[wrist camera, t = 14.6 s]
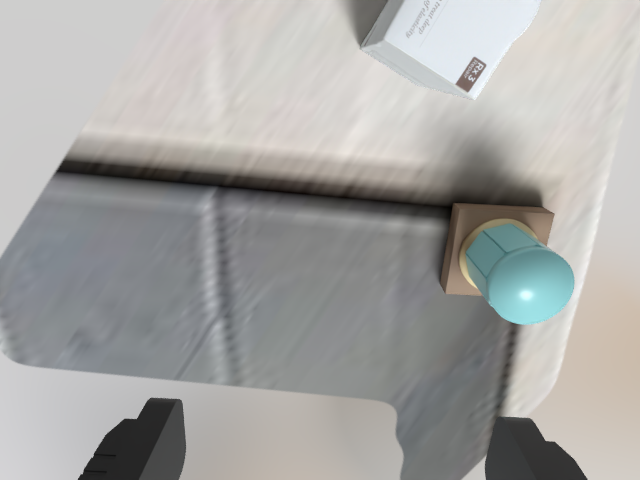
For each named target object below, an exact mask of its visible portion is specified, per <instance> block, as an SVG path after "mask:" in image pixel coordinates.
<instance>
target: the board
mask: <svg viewBox="0 0 640 480" xmlns="http://www.w3.org/2000/svg"><path fill="white" fill-rule="evenodd" d="M553 218H554V213H552V212H550V211H549V210H547V209H545V208H543V207H525V206H506V205H486V204H467V203H453V207H452V213H451V220H450V226H449V232H448V238H447V244H446V250H445V256H444V262H443V269H442V275H441V281H440V285H441V287H442V288H443V290H444V292H445V294H462V295H481V296H483V295H482V293H481V292H480V291H479V289H478V288H477V287H476V285H475V284H474V283H473V281H472V280H471V278H470V277H469V273H468V267H467V261H466V256H465V254H466V251H467V250H468V248H469V247H470V246H471V244H472V243H473V242H474V240H475V239H476V238H477V236H478V235H479V234H480V232H481V231H483V230H484V229H488V228H492V227H497V226H501V225H505V224H509V223H510V224H513V225H515V226H517V227H518V228H520V229H522V230H523V231H525V232H527V233H528V234H530V235H532V236H533V237H535V238H536V239H537V240H539V241H540V242H541V243H543V244H544V245H545V246H547V242H548V238H549V234H550V230H551V226H552V222H553Z"/></svg>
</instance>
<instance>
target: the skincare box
mask: <svg viewBox="0 0 640 480" xmlns="http://www.w3.org/2000/svg"><path fill="white" fill-rule="evenodd" d="M541 1H542V0H388V1H387V3H386V5H385V7H384V9H383V10H382V12H381V14H380V15H379V17H378V19H377V20H376V22H375V24H374V25H373V27H372V29H371V30H370V32H369V34H368V35H367V36H366V38H365V40H364V41H363V43H362V44H361V46H360V49H361V50H362V51H363V52H365V53H367V54H368V55H370V56H371V57H373V58H374V59H376V60H378V61H379V62H381V63H382V64H384V65H385V66H387V67H389V68H390V69H392V70H393V71H395V72H396V73H398V74H399V75H401V76H403V77H404V78H406V79H407V80H409V81H411V82H412V83H414V84H415V85H417V86H421V87H425V88H429V89H433V90H437V91H440V92H444V93H449V94H453V95H457V96H461V97H464V98H468V99H472V100H474V99H476V98H477V97H478V95H479V94H480V92H481V91H482V89H483V88H484V86H485V84H486V83H487V81H488V80H489V78H490V77H491V75H492V74H493V72H494V70H495V69H496V67H497V66H498V64H499V63H500V61H501V60H502V59H503V57H504V56H505V54H506V53H507V51H508V50H509V48H510V47H511V45H512V44H513V42H514V41H515V40H516V39H517V38H518V37H519V36H520V35H521V34H523V33H524V31H525V30H526V29H527V28H528V26H529V25H530V24H531V22H532V21H533V19H534V17H535V15H536V14H537V12H538V8H539V5H540V2H541Z"/></svg>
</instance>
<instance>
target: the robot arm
mask: <svg viewBox="0 0 640 480" xmlns="http://www.w3.org/2000/svg"><path fill="white" fill-rule="evenodd" d="M185 453H186V440H185V428H184V415H183V404H182V401H181V400H180V399H166V398H165V399H164V398H150V399H149V400H148V401H147V402H146V404H145V406H144V408H143V409H142V411H141V413H140V415H139V416H138V418H137V419H124V420H123V421H121V422H120V423H119V424H118V425H117V426H116V427H114V428H113V429H112V430H111V431H110V432H109V433H107V434H106V435H105V437H104V439H103V441H102V442H101V443H100V445H99V447H98V448H97V450H96V451H95V453H94V456H93V458H91V459H90V461H89V462H88V464H87V466H86V467H85V469H84V472H83V474H81V475H80V477H79V478H78V480H179V477H180V475H181V472H182V468H183V465H184V459H185ZM485 475H486V480H587V478H586V476H585V475H584V473H583V472H582V470H581V469H580V468H579V466H578V465H577V463H576V461H575V460H574V459H573V458H572V457H571V456H570V455H569V454H567V453H566V452H565V451H564V450H563V449H562V448H561V447H560V446H559V445H558V444H556V443H555V442H549V441H545V439H544V438H543V436H542V434H541V433H540V431H539V429H538V428H537V426H536V424H535V423H534V422H533V421H532V420H531V419H530V418H517V417H498V418H497V419H496V421H495V424H494V428H493V432H492V436H491V441H490V445H489V449H488V453H487V457H486V461H485Z"/></svg>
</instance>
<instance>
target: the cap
mask: <svg viewBox="0 0 640 480" xmlns="http://www.w3.org/2000/svg"><path fill="white" fill-rule="evenodd" d="M465 256H466V261H467V267H468V273H469V277H470V278H471V280H472V281H473V283H474V284H475V285H476V287H477V288H478V289H479V291H480V292H481V293H482V295H483V296H484V298H485V299H486V300H487V302H488V303H489V304H490V306H492V307H494V309H495V310H496V311H497V313H498V314H499V315H500V316H502V317H503V318H504V319H506V320H508V321H510V322H513V323H517V324H535V323H539V322H542V321H545V320H547V319H549V318H551V317H553V316H554V315H556V314H557V313H558V312H559V311H561V310H562V309H563V308H564V306H565V305H566V304H567V302H568V301H569V299H570V297H571V295H572V292H573V289H574V275H573V271H572V269H571V267H570V265H569V264H568V263H567V262H566V261H565V260H564V259H563V258H562V257H560V256H559V255H558V254H556V253H555V252H554V251H552V250H551V249H549V248H548V247H547V246H545V245H544V244H543V243H541V242H540V241H539V240H537V239H536V238H535V237H533V236H532V235H530V234H528V233H527V232H525V231H523V230H522V229H520V228H518V227H517V226H515V225H513V224H510V223H509V224H505V225H501V226H497V227H492V228H488V229H484V230H483V231H481V232H480V234H479V235H478V236H477V238H476V239H475V240H474V242H473V243H472V244H471V246H470V247H469V248H468V250H467V251H466V254H465Z"/></svg>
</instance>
